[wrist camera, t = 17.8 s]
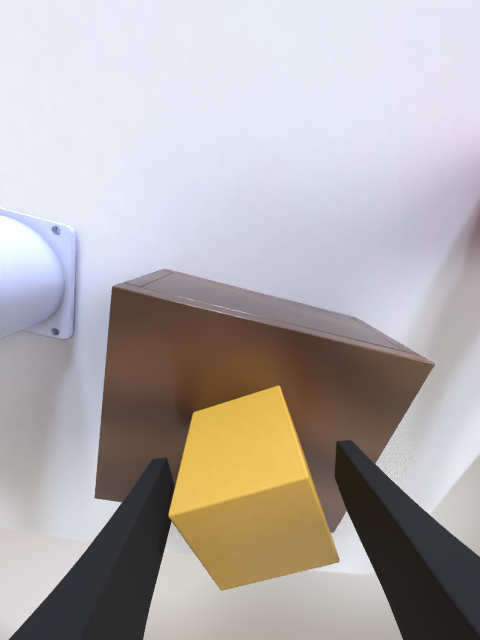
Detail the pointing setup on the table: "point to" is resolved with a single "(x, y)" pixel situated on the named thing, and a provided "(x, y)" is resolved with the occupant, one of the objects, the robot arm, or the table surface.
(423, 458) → the table surface
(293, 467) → the mustard block
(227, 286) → the box
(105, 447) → the box lid
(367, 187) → the table surface
